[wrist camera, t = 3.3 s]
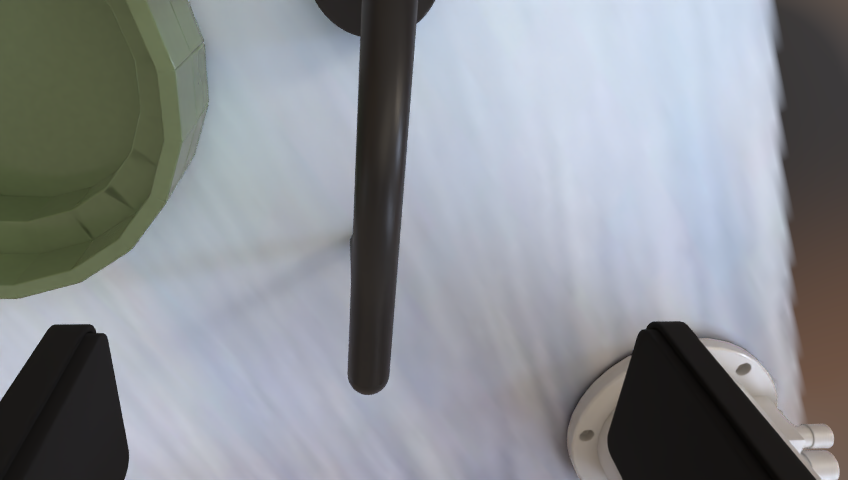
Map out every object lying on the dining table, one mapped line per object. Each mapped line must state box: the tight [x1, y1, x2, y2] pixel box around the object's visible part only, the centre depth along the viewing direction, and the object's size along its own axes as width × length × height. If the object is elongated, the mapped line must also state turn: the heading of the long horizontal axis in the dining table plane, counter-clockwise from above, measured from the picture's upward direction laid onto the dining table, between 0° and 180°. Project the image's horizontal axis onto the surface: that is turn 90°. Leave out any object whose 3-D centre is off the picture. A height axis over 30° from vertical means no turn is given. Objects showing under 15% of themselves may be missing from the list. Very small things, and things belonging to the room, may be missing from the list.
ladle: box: [315, 0, 435, 395], centre depth 22 cm, size 15×5×11 cm, turn 175°
